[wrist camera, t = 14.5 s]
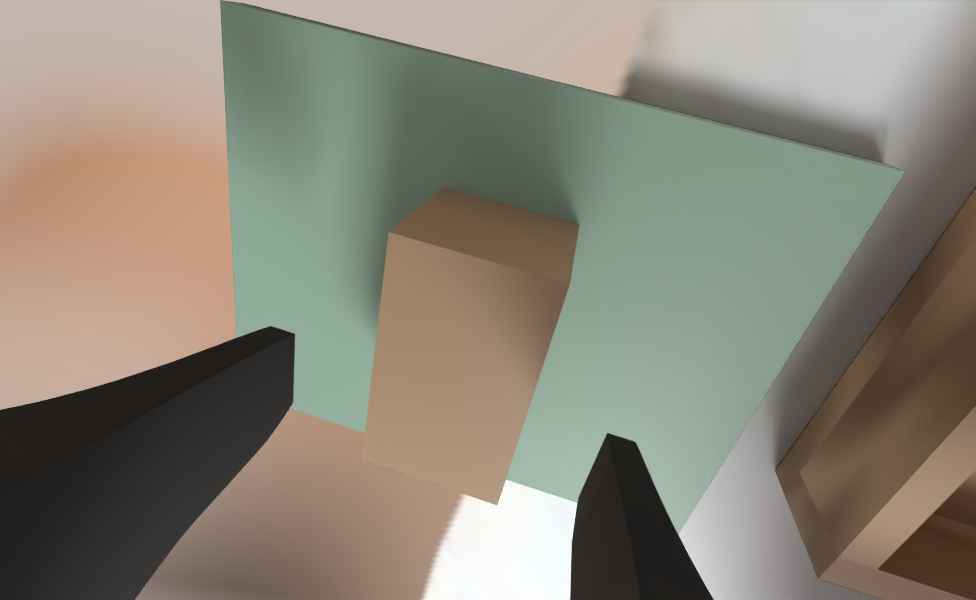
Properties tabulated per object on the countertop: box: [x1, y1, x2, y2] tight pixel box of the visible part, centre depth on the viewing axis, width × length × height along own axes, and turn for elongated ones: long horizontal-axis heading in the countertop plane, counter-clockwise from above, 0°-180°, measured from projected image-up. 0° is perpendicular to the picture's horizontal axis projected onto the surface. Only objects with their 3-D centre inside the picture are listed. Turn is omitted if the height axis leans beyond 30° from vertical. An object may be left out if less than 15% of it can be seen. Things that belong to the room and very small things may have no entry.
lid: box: [220, 1, 905, 533], centre depth 14 cm, size 14×18×5 cm
